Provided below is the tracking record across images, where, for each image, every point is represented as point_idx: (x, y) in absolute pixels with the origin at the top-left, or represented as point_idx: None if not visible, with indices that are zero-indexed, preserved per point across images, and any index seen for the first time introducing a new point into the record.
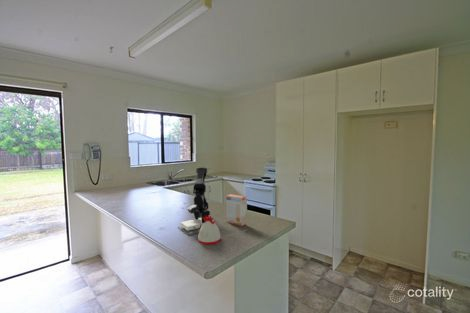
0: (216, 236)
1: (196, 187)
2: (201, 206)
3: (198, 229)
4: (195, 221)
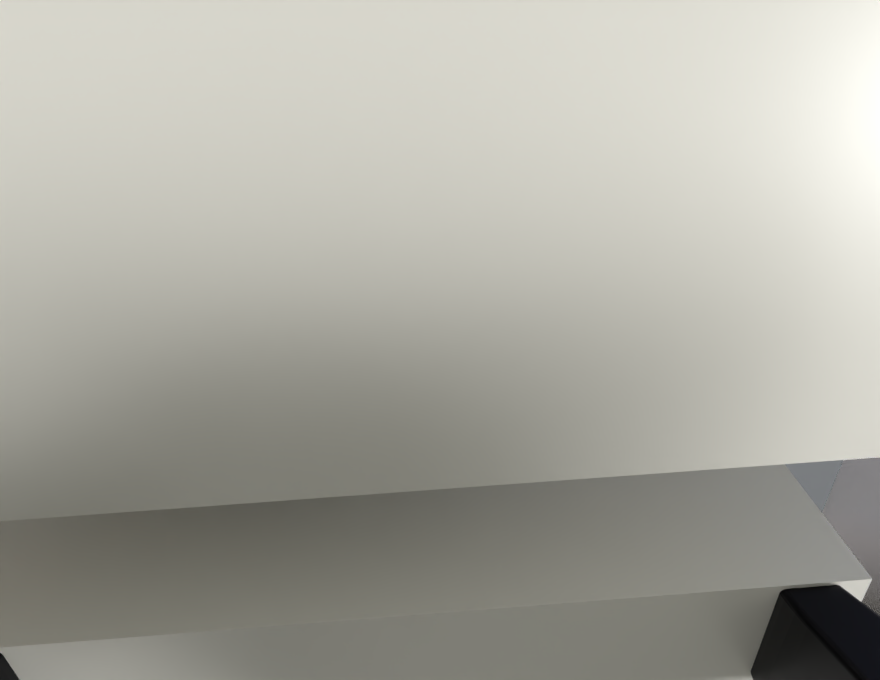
0: None
1: None
2: None
3: None
4: (460, 475)
